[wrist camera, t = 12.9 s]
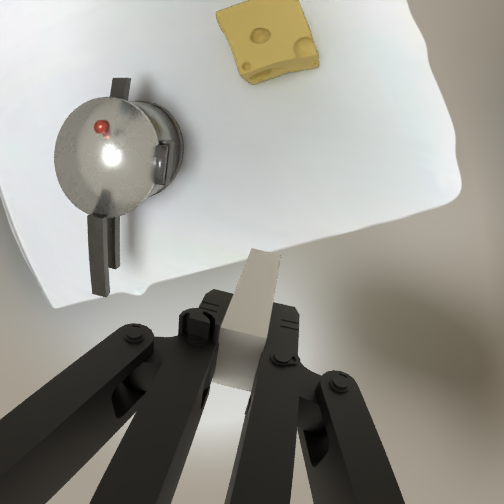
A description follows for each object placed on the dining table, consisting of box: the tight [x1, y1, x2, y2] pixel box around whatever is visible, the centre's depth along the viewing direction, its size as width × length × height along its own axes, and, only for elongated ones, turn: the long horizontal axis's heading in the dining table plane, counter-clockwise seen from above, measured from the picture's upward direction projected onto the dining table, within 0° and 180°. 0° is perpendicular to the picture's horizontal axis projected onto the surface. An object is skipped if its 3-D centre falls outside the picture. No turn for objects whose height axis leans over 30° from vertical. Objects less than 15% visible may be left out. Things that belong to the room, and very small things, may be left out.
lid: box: [54, 97, 168, 297], centre depth 39 cm, size 30×18×2 cm, turn 170°
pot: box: [107, 78, 183, 269], centre depth 44 cm, size 29×18×9 cm, turn 170°
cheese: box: [216, 0, 319, 84], centre depth 34 cm, size 10×11×10 cm
